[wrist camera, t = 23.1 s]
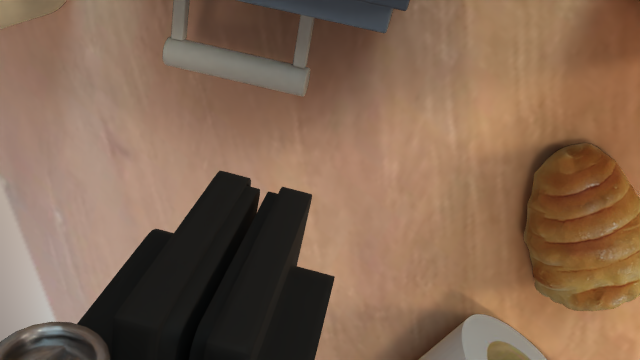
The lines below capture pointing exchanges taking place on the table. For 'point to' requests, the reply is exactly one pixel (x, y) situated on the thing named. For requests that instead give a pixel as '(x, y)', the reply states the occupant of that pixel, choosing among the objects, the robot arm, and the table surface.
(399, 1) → the cabinet
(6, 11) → the paper roll
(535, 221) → the pastry
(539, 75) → the table surface
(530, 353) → the toilet paper
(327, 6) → the drawer
